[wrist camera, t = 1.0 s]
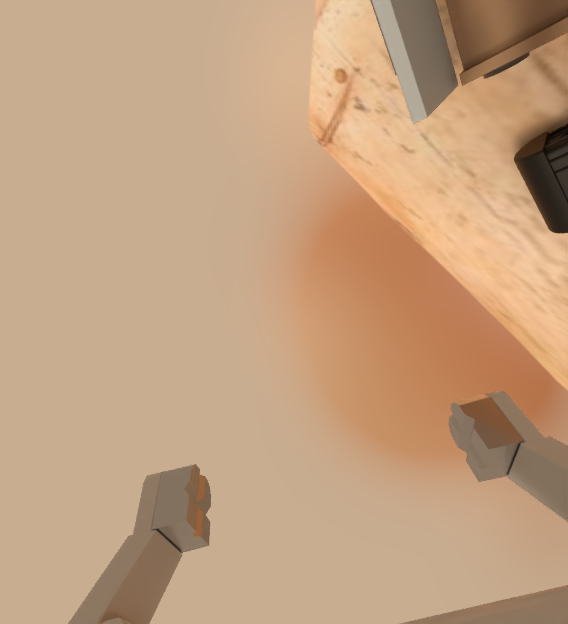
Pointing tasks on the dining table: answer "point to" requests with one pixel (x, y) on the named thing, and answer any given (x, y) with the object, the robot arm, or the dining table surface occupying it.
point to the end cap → (548, 176)
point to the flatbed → (503, 32)
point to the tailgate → (417, 52)
